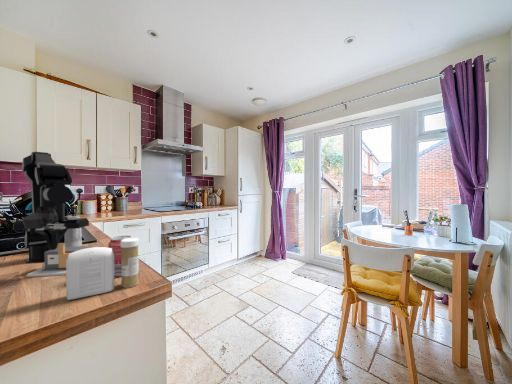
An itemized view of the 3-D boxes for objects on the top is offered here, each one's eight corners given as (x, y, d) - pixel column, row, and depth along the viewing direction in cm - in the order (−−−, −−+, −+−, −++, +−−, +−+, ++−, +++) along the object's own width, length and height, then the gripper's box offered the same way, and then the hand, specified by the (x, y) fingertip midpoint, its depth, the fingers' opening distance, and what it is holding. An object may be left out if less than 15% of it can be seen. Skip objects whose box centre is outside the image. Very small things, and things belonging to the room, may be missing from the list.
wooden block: (58, 268, 71) (57, 243, 71) (60, 267, 72) (59, 243, 72) (74, 267, 72) (74, 243, 72) (76, 266, 73) (76, 242, 72)
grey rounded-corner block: (114, 285, 62) (114, 243, 62) (114, 291, 58) (114, 246, 58) (68, 295, 56) (67, 249, 56) (64, 302, 53) (63, 253, 53)
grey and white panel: (26, 276, 68) (26, 255, 68) (58, 262, 81) (57, 244, 81) (89, 273, 70) (88, 253, 70) (110, 260, 83) (109, 243, 83)
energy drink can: (77, 246, 103) (76, 215, 102) (84, 248, 100) (84, 216, 100) (61, 249, 97) (61, 217, 97) (69, 251, 95) (68, 217, 94)
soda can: (130, 267, 76) (130, 234, 75) (136, 273, 71) (136, 237, 70) (106, 273, 71) (105, 237, 70) (111, 280, 66) (110, 241, 65)
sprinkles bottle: (118, 285, 62) (118, 239, 62) (135, 280, 66) (135, 236, 65) (124, 290, 59) (123, 242, 59) (141, 284, 63) (141, 239, 63)
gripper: (-7, 204, 61) (-6, 258, 62) (66, 204, 64) (66, 255, 64) (29, 202, 72) (29, 248, 73) (89, 201, 75) (90, 245, 75)
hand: (53, 249), depth 71 cm, fingers closed
